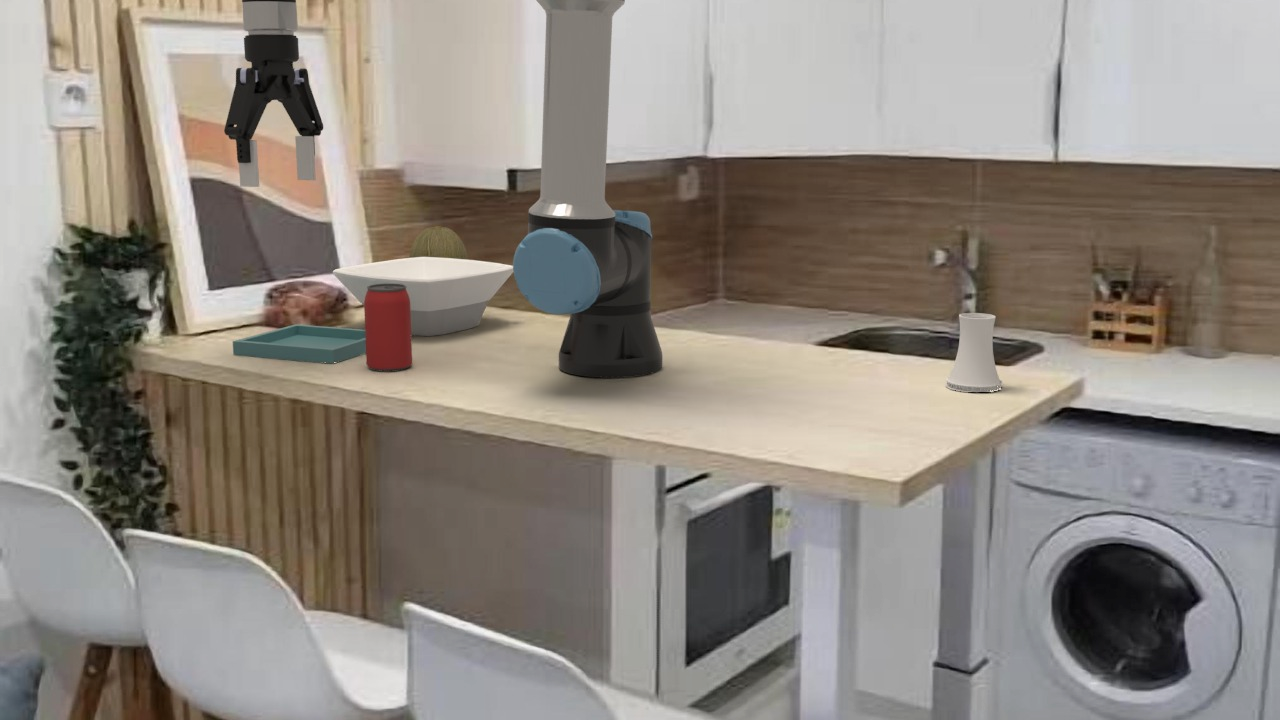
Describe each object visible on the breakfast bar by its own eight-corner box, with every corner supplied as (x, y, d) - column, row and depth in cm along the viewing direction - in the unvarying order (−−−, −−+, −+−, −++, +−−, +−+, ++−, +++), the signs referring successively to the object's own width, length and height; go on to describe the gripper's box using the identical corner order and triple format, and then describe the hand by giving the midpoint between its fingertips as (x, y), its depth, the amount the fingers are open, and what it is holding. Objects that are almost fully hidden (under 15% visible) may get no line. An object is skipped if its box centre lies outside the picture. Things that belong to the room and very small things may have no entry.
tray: (391, 344, 218) (390, 331, 218) (333, 363, 204) (332, 349, 204) (296, 336, 225) (295, 324, 225) (233, 354, 210) (232, 341, 210)
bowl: (321, 330, 231) (318, 270, 229) (425, 310, 251) (424, 254, 249) (427, 346, 217) (425, 282, 215) (529, 324, 237) (528, 265, 235)
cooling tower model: (988, 380, 194) (991, 310, 192) (1011, 392, 186) (1015, 319, 184) (937, 382, 192) (940, 311, 190) (958, 394, 185) (962, 321, 183)
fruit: (483, 305, 256) (481, 225, 253) (438, 313, 248) (436, 230, 245) (440, 299, 263) (438, 221, 260) (396, 306, 255) (393, 225, 252)
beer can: (402, 373, 198) (399, 290, 195) (359, 371, 199) (356, 288, 197) (418, 364, 204) (416, 283, 202) (376, 362, 205) (373, 282, 203)
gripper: (300, 36, 210) (307, 177, 214) (191, 31, 187) (201, 188, 191) (342, 35, 207) (349, 178, 211) (236, 30, 184) (246, 190, 189)
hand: (279, 183), depth 201 cm, fingers open, 13 cm apart
